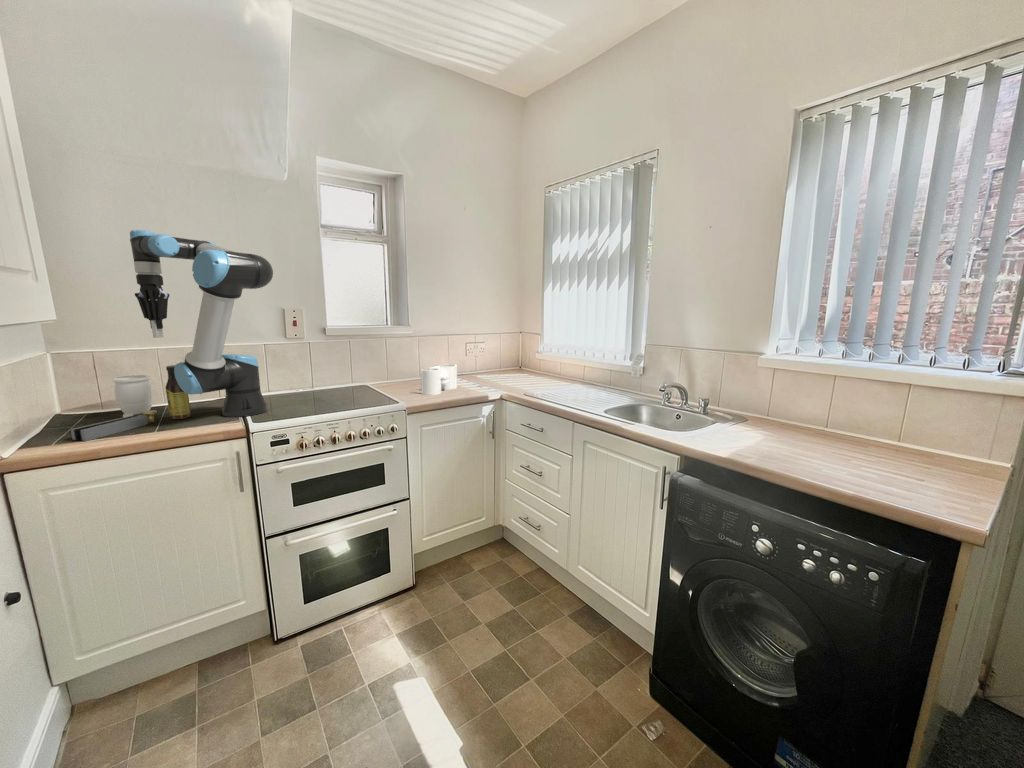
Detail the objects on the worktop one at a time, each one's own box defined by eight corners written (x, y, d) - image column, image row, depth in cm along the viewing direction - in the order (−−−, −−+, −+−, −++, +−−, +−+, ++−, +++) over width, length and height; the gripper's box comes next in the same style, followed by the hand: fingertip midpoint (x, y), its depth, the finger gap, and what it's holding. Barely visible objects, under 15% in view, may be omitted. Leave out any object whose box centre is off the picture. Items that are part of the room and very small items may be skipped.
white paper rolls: (436, 396, 198) (435, 371, 196) (419, 394, 202) (418, 369, 199) (460, 386, 221) (460, 364, 219) (444, 385, 225) (444, 363, 222)
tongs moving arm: (152, 420, 152) (150, 409, 151) (160, 421, 151) (159, 410, 150) (72, 439, 130) (69, 427, 129) (81, 440, 129) (79, 428, 128)
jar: (163, 413, 162) (157, 375, 159) (137, 420, 152) (130, 380, 149) (138, 412, 163) (132, 374, 160) (111, 419, 153) (104, 379, 150)
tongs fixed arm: (151, 421, 151) (149, 411, 150) (157, 421, 150) (156, 412, 150) (78, 440, 129) (76, 429, 128) (85, 441, 128) (83, 430, 128)
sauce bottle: (173, 416, 157) (166, 364, 154) (193, 415, 160) (186, 364, 156) (167, 420, 151) (159, 367, 148) (187, 419, 154) (180, 366, 150)
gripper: (173, 275, 157) (182, 337, 162) (144, 275, 159) (153, 336, 164) (153, 273, 150) (163, 338, 154) (123, 273, 152) (133, 337, 156)
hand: (158, 337), depth 159 cm, fingers closed
